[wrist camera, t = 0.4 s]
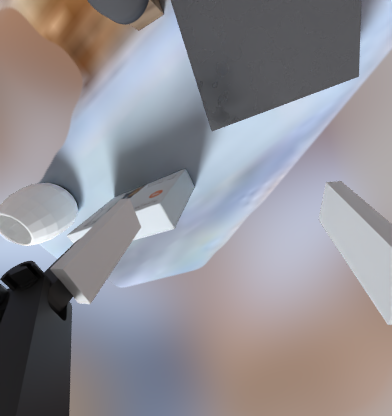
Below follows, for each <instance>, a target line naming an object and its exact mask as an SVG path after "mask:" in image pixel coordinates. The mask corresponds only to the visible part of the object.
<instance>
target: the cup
mask: <svg viewBox="0 0 392 416" xmlns="http://www.w3.org/2000/svg"><path fill="white" fill-rule="evenodd" d="M77 214H78V208H77V203H76V201H75V199H74V198H73V196H72V195H71V194H70V193H69V192H68V191H67V190H65V189H63V188H62V187H60V186H58V185H55V184H51V183H39V184H31V185H29V186H26V187H24V188H22V189H20V190H18V191H16V192H15V193H13V194H11V195H10V196H9V197H8V198H7V199H6V200H5V201H4V202H3V203H2V204H1V205H0V233H1V234H2V235H3V236H4V237H6V238H7V239H8V240H10V241H12V242H14V243H16V244H20V245H23V246H30V245H34V244H39V243H42V242H45V241H48V240H51V239H53V238H54V237H56V236H58V235H59V234H61V233H62V232H64V231H65V230H66V229H68V228H69V227H70V226H71V225H72V224H73V223H74V221H75V219H76V217H77Z"/></svg>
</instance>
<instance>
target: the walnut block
mask: <svg viewBox="0 0 392 416" xmlns="http://www.w3.org/2000/svg"><path fill="white" fill-rule="evenodd" d="M162 15H164V14H163V11H162V8H161V5H160V2H159V0H149V2H148V5H147V8H146V10H145V12H144V13H143V15H142V16H141V17H140V18H139V19H138V20H137V21H135V22H133V23H131V24H129V25H131V26H132V27H134V28H135V29H137V30H138V31H139V30H141V29H142V28H144V27H145V26H147V25H148V24H150V23H152V22H153V21H155V20H156V19H158V18H159V17H161V16H162Z"/></svg>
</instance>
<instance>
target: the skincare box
mask: <svg viewBox="0 0 392 416" xmlns="http://www.w3.org/2000/svg"><path fill="white" fill-rule="evenodd" d="M194 188H195V187H194V185H193V183H192V180H191V178H190V176H189V174H188V172H187V170H186V169H183V170H181V171H178V172H176V173H173V174H171V175H168V176H166V177H163V178H161V179H158V180H156V181H153V182H151V183H148V184H146V185H143V186H141V187H138V188H136V189H133V190H131V191H129V192H126V193H124V194H121V195H119V196H116V197H114V198H113V199H112V200H110V201H109V202H108V203H107V204H105V205H104V206H103V207H102V208H100V209H99V210H98V211H97V212H96V213H94V214H93V215H92V216H90V217H89V218H88V219H87V220H85V221H84V222H83V223H82V224H80V225H79V226H78V227H77V228H75V229H74V230H73V231H72V232H70V233H69V234H68V235H67V237H68V238H69V239H70V240H71V241H72V242H73V243H75V242H76V241H77V240H79V239H80V238H82V237H83V236H84V235H85V234H86V233H87V232H88V231H89V230H90V229H91V228H92V227H93V226H94V225H95V224H96V223H97V222H98V221H99V220H100V219H101V218H102V217H103V216H104V215H105V214H106V213H107V212H108V211H109V210H110V209H111V208H112V207H113V206H114V205H115V204H116V203H117V202H118V201H119V200H120V199H127V198H130V200H131V203H132V205H133V208H134V210H135V213H136V215H137V218H138V220H139V223H140V225H141V228H140V230H139V231H138V233H137V234H136V236H135V238H134V239H133V240H136V239H140V238H144V237H147V236H151V235H154V234H158V233H161V232H165V231H169V230H173V229H175V227H176V224H177V222H178V220H179V218H180V216H181V214H182V212H183V210H184V208H185V206H186V204H187V202H188V200H189V198H190V196H191V194H192V192H193V190H194Z"/></svg>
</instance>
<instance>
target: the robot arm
mask: <svg viewBox="0 0 392 416" xmlns="http://www.w3.org/2000/svg"><path fill="white" fill-rule="evenodd" d="M319 221H320V223H321V224H322V226H323V228H324V229H325V231H326V232H327V234H328V235H329V237H330V238H331V240H332V241H333V242H334V244H335V246H336V247H337V249H338V250H339V251H340V253H341V255H342V256H343V258H344V259H345V261H346V262H347V264H348V265H349V267H350V268H351V270H352V271H353V273H354V274H355V276H356V277H357V279H358V280H359V282H360V283H361V285H362V286H363V288H364V289H365V291H366V292H367V294H368V296H369V297H370V299H371V300H372V302H373V303H374V305H375V306H376V308H377V309H378V311H379V312H380V314H381V315H382V317H383V318H384V320H385V321H386V323H387V324H388V325H392V224H391V223H390V222H389V221H388V220H386V219H385V218H384V217H383V216H382V215H380V214H379V213H378V212H377V211H376V210H375V209H373V208H372V207H371V206H370V205H369V204H367V203H366V202H365V201H364V200H363V199H361V198H360V197H359V196H358V195H357V194H356V193H354V192H353V191H352V190H351V189H350V188H348V187H347V186H346V185H345V184H344V183H342V182H341V181H338V182H327V183H326V186H325V191H324V196H323V201H322V206H321V211H320V215H319ZM140 228H141V225H140V223H139V220H138V218H137V215H136V213H135V210H134V208H133V205H132V203H131V200H130V198H127V199H120V200H119V201H118V202H117V203H116V204H115V205H114V206H113V207H112V208H111V209H110V210H109V211H108V212H107V213H106V214H105V215H104V216H103V217H102V218H101V219H100V220H99V221H98V222H97V223H96V224H95V225H94V226H93V227H92V228H91V229H90V230H89V231H88V232H87V233H86V234H85V235H84V236H83V237H82V238H80V239H79V240H77V241H76V242H75V243H74V244H73V245H72V246H71V247H70V249H68V250H67V251H66V252H65V254H63V255H62V256H61V257H60V258H59V259H57V260H56V261H55V262H54V263H53V264H52V265H51V266H50V267H49V268H48V269H47V270H46V271H45V272H43V271H42V270H41V269H40V268H39V267H38V266H37V265H36V264H35V262H33V261H27V262H23V263H21V264H19V265H17V266H15V267H13V268H12V269H10V270H9V271H7V272H6V273H5V274H4V275H3V276H2V278H1V279H0V280H2V281H3V282H4V283H5V284H6V285H7V286H8V287H9V289H6V288H5V287H4V286H2V285H1V284H0V416H69V402H70V362H71V323H72V321H71V320H72V305H71V303H70V302H69V301H70V300H71V298H72V297H74V298H75V299H76V301H77V302H78V303H84V304H91V302H92V301H93V300H94V298H95V297H96V295H97V293H98V292H99V290H100V289H101V287H102V286H103V284H104V283H105V281H106V280H107V278H108V277H109V275H110V274H111V272H112V271H113V269H114V268H115V266H116V265H117V263H118V262H119V260H120V259H121V257H122V256H123V254H124V253H125V251H126V250H127V248H128V247H129V245H130V244H131V242H132V241H133V239H134V238H135V236H136V234H137V233H138V231H139V230H140Z"/></svg>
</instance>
